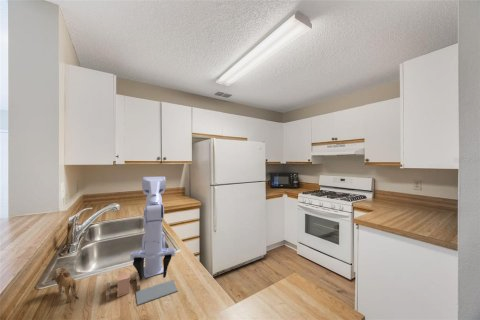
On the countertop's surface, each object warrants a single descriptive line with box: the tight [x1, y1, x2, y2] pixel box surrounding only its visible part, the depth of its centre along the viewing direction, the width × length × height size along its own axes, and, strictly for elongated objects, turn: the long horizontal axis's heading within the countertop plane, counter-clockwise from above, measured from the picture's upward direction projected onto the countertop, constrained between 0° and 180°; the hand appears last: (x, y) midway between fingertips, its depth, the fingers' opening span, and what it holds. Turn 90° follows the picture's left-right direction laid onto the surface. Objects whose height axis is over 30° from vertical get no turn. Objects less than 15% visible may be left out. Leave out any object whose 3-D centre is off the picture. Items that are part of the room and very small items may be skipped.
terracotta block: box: [117, 272, 131, 298], centre depth 74 cm, size 4×4×6 cm
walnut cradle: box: [105, 274, 141, 303], centre depth 76 cm, size 9×11×2 cm
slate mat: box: [135, 279, 178, 306], centre depth 74 cm, size 8×14×1 cm, turn 122°
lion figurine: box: [48, 267, 80, 304], centre depth 73 cm, size 15×5×9 cm, turn 69°
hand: (153, 277), depth 68 cm, fingers open, 7 cm apart
